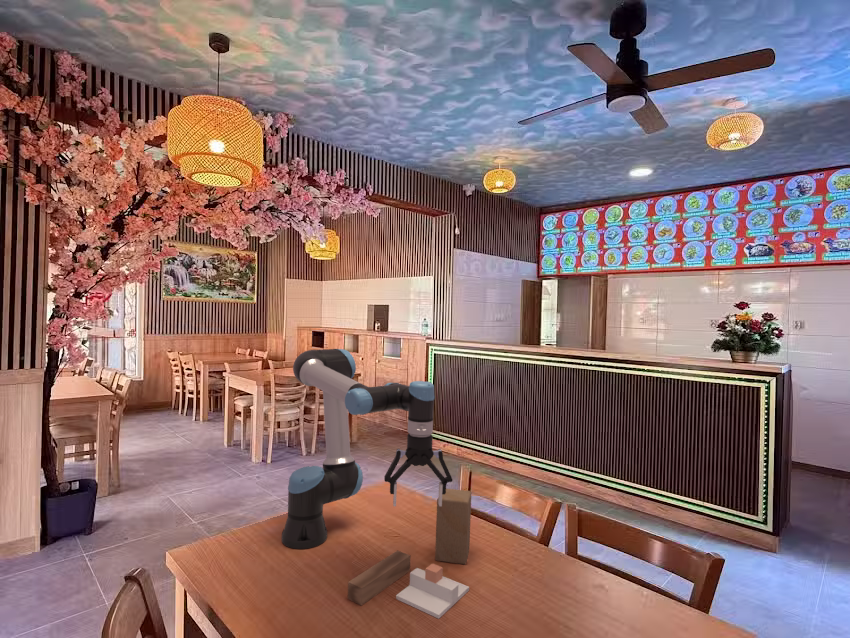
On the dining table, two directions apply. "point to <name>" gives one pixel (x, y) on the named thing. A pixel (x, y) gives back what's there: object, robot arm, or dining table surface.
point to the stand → (432, 591)
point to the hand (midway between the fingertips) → (417, 504)
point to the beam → (378, 577)
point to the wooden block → (453, 527)
